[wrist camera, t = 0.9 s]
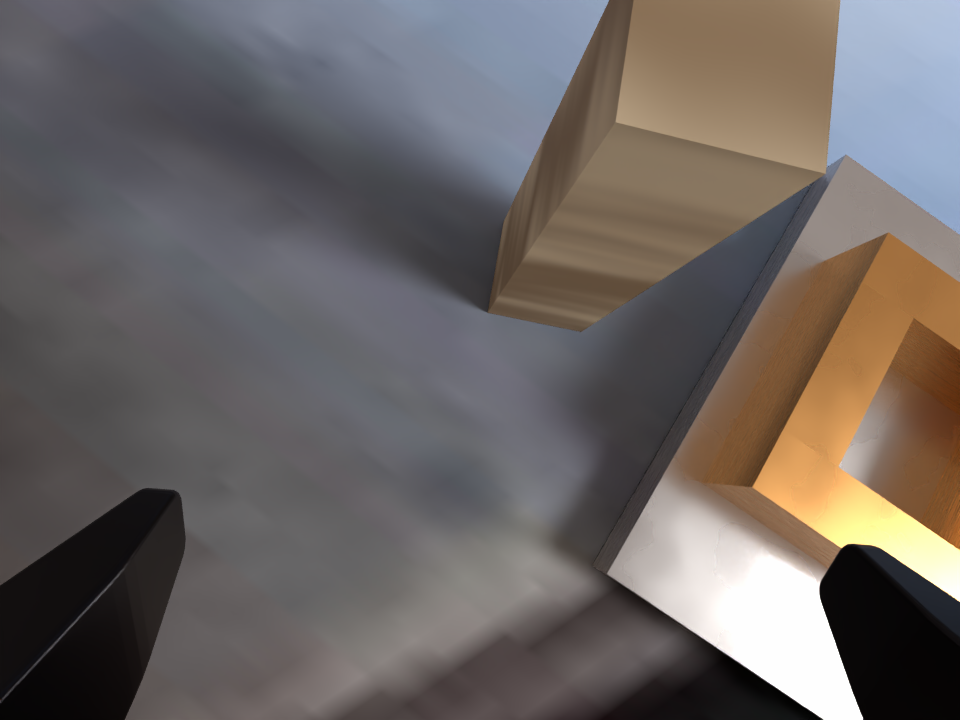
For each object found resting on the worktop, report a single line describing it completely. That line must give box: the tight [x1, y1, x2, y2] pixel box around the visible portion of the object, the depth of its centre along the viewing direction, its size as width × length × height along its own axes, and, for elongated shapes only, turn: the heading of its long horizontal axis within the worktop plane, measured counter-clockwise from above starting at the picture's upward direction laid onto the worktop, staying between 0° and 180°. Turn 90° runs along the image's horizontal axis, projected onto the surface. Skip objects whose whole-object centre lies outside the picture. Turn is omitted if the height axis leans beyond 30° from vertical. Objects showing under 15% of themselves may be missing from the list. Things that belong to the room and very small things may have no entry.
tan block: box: [488, 0, 840, 332], centre depth 16 cm, size 4×4×13 cm
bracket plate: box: [592, 155, 960, 720], centre depth 21 cm, size 18×12×4 cm, turn 146°
